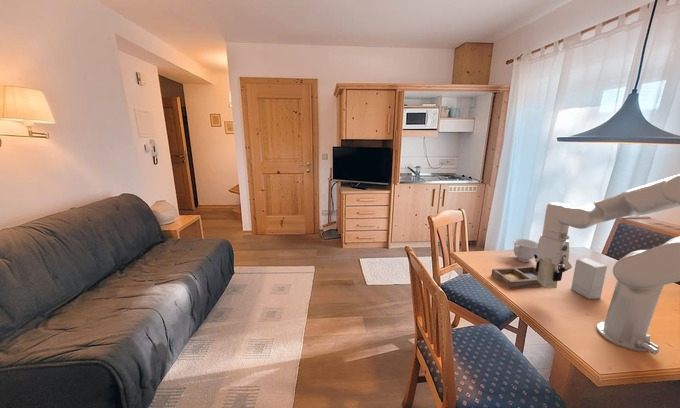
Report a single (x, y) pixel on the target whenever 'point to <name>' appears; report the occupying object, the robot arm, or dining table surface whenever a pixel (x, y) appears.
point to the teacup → (524, 249)
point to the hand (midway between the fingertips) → (547, 275)
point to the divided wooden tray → (517, 276)
